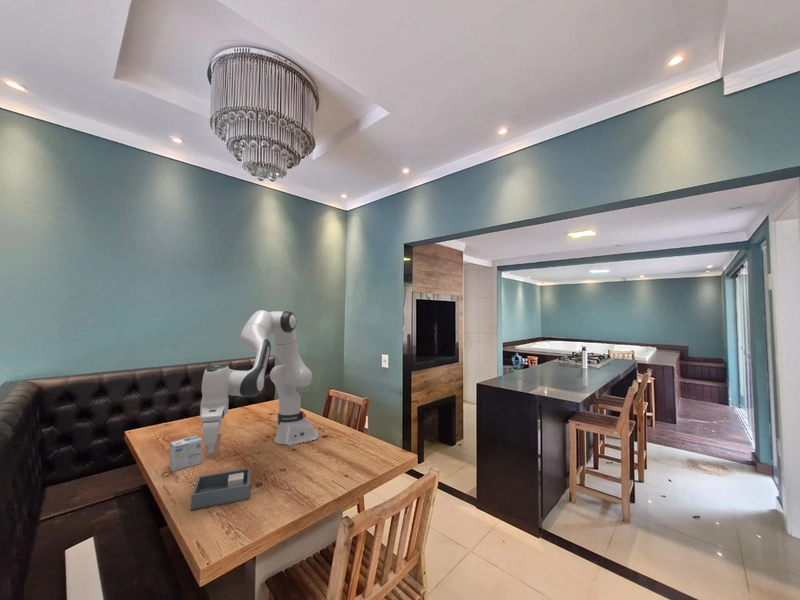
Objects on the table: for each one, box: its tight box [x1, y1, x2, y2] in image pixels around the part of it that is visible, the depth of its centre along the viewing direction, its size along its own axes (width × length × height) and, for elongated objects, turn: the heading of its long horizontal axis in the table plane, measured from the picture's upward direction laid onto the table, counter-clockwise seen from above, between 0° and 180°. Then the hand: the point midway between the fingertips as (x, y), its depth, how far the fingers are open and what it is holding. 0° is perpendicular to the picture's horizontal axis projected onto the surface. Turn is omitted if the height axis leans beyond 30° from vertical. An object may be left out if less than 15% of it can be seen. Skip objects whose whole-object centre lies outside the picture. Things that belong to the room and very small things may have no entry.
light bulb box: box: [168, 435, 203, 473], centre depth 137 cm, size 11×7×11 cm, turn 141°
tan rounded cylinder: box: [203, 433, 222, 460], centre depth 114 cm, size 5×5×7 cm
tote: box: [190, 467, 251, 512], centre depth 114 cm, size 18×14×5 cm
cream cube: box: [228, 472, 244, 488], centre depth 116 cm, size 5×5×5 cm
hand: (212, 448), depth 114 cm, fingers closed on tan rounded cylinder, 5 cm apart
